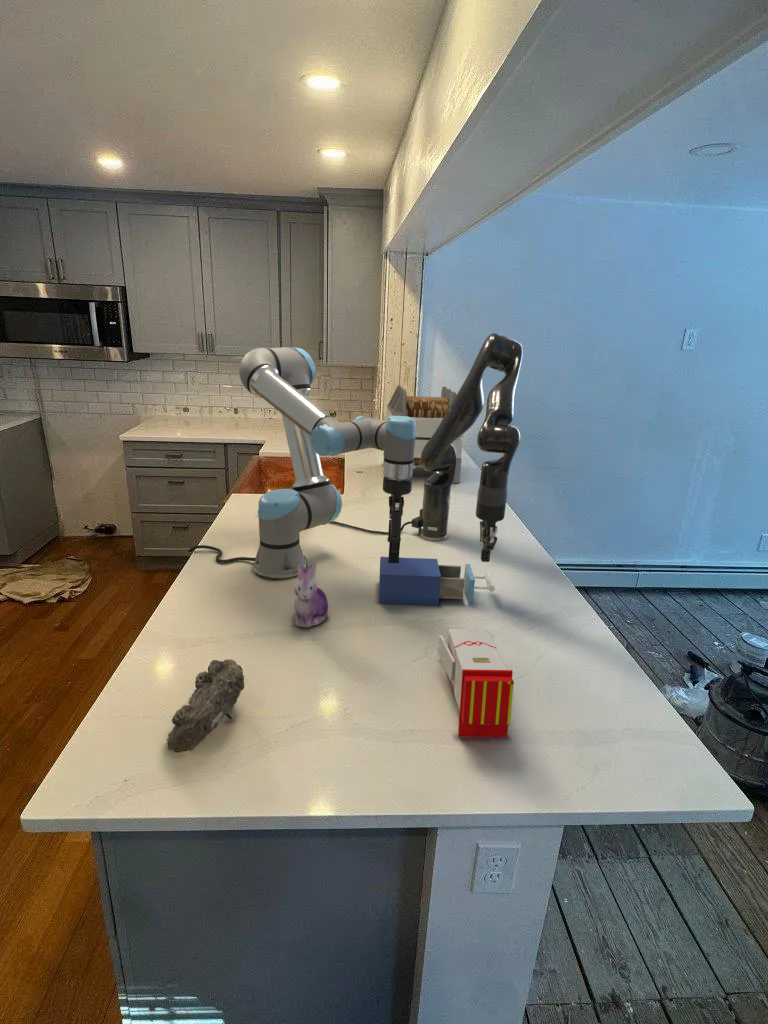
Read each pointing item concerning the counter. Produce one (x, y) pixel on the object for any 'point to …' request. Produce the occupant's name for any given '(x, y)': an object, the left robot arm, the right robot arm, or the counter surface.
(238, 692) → the fossil
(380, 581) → the cabinet
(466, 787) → the counter surface
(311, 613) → the figurine
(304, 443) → the left robot arm
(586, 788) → the counter surface
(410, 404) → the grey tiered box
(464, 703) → the toy
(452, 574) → the drawer
